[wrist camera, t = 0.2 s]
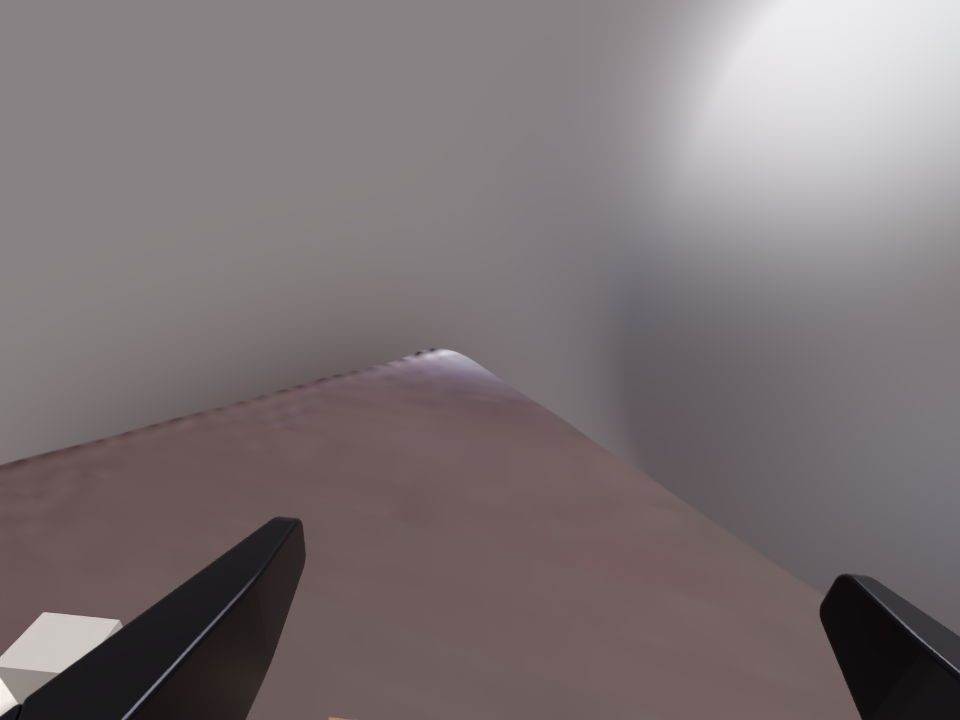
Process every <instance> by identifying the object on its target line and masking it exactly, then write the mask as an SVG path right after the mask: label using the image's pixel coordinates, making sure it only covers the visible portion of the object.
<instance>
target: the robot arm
mask: <svg viewBox="0 0 960 720" xmlns="http://www.w3.org/2000/svg"><path fill="white" fill-rule="evenodd" d="M305 557H306V552H305V542H304V533H303V524H302V522H301V520H300V519H298V518H290V517H280V516H279V517H275V518H273V519H271V520H270V521H268V522H267V523H266V524H264V525H263V526H262V527H260V528H259V529H257V530H256V531H255V532H253V533H252V534H251V535H249V536H248V537H246V538H245V539H244V540H242V541H241V542H240V543H238V544H237V545H235V546H234V547H233V548H231V549H230V550H229V551H227V552H226V553H224V554H223V555H222V556H220V557H219V558H218V559H216V560H215V561H213V562H212V563H211V564H209V565H208V566H207V567H205V568H204V569H202V570H201V571H200V572H198V573H197V574H196V575H194V576H193V577H191V578H190V579H189V580H187V581H186V582H185V583H183V584H182V585H180V586H179V587H178V588H176V589H175V590H174V591H172V592H171V593H169V594H168V595H167V596H165V597H164V598H163V599H161V600H160V601H158V602H157V603H156V604H154V605H153V606H152V607H150V608H149V609H147V610H146V611H145V612H143V613H142V614H141V615H139V616H138V617H136V618H135V619H134V620H132V621H131V622H130V623H128V624H127V625H125V626H124V627H123V628H121V629H120V630H119V631H117V632H116V633H114V634H113V635H112V636H110V637H109V638H108V639H106V640H105V641H103V642H102V643H101V644H99V645H98V646H97V647H95V648H94V649H92V650H91V651H90V652H88V653H87V654H86V655H84V656H83V657H81V658H80V659H79V660H77V661H76V662H75V663H73V664H72V665H70V666H69V667H68V668H66V669H65V670H63V671H62V672H61V673H59V674H58V675H57V676H55V677H54V678H52V679H51V680H50V681H48V682H47V683H46V684H44V685H43V686H41V687H40V688H39V689H37V690H36V691H35V692H33V693H32V694H30V695H29V696H28V697H27V698H26V699H25V700H24V702H23V705H22V704H17V705H15V706H14V707H12V708H11V709H9V710H8V711H7V712H5V713H4V714H3V715H1V716H0V720H246V718H247V715H248V713H249V711H250V709H251V707H252V704H253V702H254V700H255V698H256V696H257V693H258V691H259V689H260V687H261V685H262V682H263V680H264V678H265V675H266V673H267V671H268V668H269V666H270V664H271V661H272V658H273V655H274V653H275V650H276V647H277V644H278V641H279V638H280V635H281V633H282V630H283V627H284V624H285V621H286V618H287V615H288V612H289V609H290V606H291V603H292V600H293V597H294V594H295V591H296V589H297V586H298V583H299V580H300V577H301V574H302V571H303V568H304V564H305ZM820 619H821V622H822V625H823V627H824V630H825V632H826V634H827V637H828V639H829V642H830V644H831V647H832V649H833V651H834V654H835V656H836V659H837V661H838V664H839V666H840V668H841V671H842V673H843V676H844V678H845V681H846V683H847V685H848V688H849V690H850V693H851V695H852V698H853V700H854V702H855V705H856V707H857V710H858V712H859V714H860V716H861V719H862V720H960V636H958V635H957V634H955V633H954V632H952V631H951V630H949V629H948V628H946V627H945V626H943V625H942V624H940V623H939V622H937V621H936V620H934V619H933V618H931V617H930V616H929V615H927V614H926V613H924V612H922V611H921V610H920V609H918V608H917V607H915V606H914V605H912V604H910V603H909V602H908V601H906V600H905V599H903V598H902V597H900V596H899V595H897V594H896V593H894V592H893V591H891V590H890V589H888V588H887V587H886V586H884V585H882V584H881V583H880V582H878V581H876V580H875V579H873V578H871V577H869V576H865V575H856V574H846V573H845V574H841V575H839V576H838V577H837V578H836V579H835V581H834V583H833V584H832V586H831V588H830V590H829V591H828V593H827V595H826V596H825V598H824V600H823V601H822V603H821V605H820Z"/></svg>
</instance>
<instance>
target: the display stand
mask: <svg viewBox="0 0 960 720" xmlns="http://www.w3.org/2000/svg"><path fill="white" fill-rule="evenodd" d="M121 628H123V627H122V624H121V622H120V620H113V619H104V618H94V617H85V616H75V615H65V614H56V613H46V612H44V613H43V614H42V615H41V616H40V617H39V618H38V619H37V620H36V621H35V622H34V623H33V624H32V625H31V626H30V627H29V628H28V629H27V630H26V631H25V632H24V633H23V634H22V635H21V637H20V638H19V639H18V640H17V641H16V642H15V643H14V644H13V645H12V646H11V647H10V648H9V649H8V650H7V651H6V652H5V653H4V654H3V655H2V656H1V657H0V716H1V715H3V714H4V713H5V712H7V711H8V710H9V709H11V708H12V707H14V706H15V705H17V704H22V705H23V702H24V700H25V699H26V698H27V697H28V696H29V695H30V694H32V693H33V692H35V691H36V690H37V689H39V688H40V687H41V686H43V685H44V684H46V683H47V682H48V681H50V680H51V679H52V678H54V677H55V676H57V675H58V674H59V673H61V672H62V671H63V670H65V669H66V668H68V667H69V666H70V665H72V664H73V663H75V662H76V661H77V660H79V659H80V658H81V657H83V656H84V655H86V654H87V653H88V652H90V651H91V650H92V649H94V648H95V647H97V646H98V645H99V644H101V643H102V642H103V641H105V640H106V639H108V638H109V637H110V636H112V635H113V634H114V633H116V632H117V631H119V630H120V629H121Z"/></svg>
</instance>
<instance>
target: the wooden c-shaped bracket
mask: <svg viewBox="0 0 960 720" xmlns="http://www.w3.org/2000/svg"><path fill="white" fill-rule="evenodd" d="M329 720H349V719H340V718H330V717H329Z"/></svg>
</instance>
